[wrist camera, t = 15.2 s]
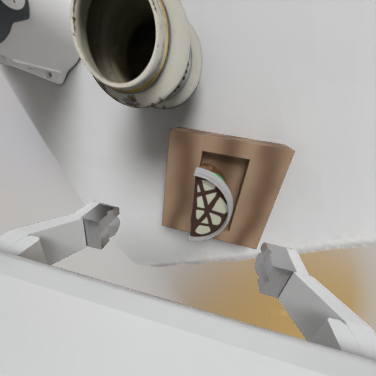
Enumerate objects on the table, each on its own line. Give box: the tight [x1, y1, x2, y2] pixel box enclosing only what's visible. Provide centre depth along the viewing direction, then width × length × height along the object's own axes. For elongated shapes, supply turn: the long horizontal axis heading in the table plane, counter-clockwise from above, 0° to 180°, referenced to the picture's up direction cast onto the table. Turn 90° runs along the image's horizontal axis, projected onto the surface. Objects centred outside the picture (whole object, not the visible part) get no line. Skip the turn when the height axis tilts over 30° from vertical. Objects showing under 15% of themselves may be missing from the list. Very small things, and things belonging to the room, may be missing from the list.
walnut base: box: [162, 127, 295, 249], centre depth 35 cm, size 20×20×6 cm
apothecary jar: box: [70, 0, 202, 109], centre depth 23 cm, size 12×12×18 cm
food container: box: [188, 163, 233, 241], centre depth 30 cm, size 12×6×10 cm, turn 176°
